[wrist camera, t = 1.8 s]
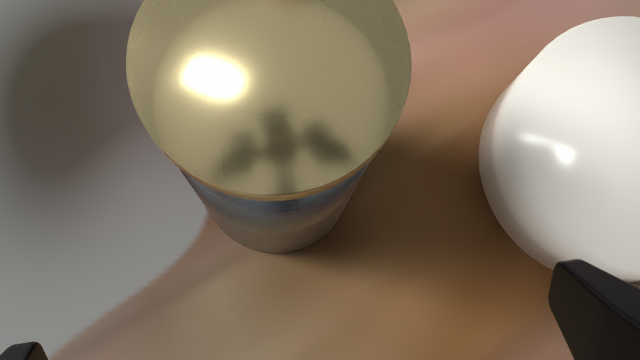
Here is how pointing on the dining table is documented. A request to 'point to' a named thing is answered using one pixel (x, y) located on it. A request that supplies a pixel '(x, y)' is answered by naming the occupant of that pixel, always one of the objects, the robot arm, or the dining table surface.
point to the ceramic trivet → (571, 150)
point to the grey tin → (270, 105)
